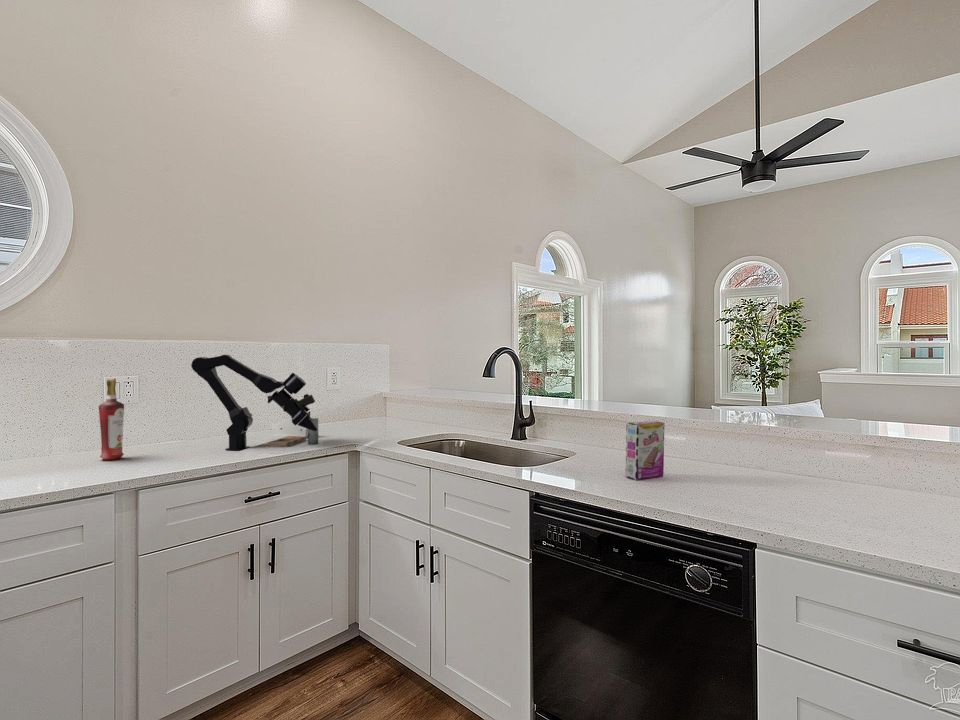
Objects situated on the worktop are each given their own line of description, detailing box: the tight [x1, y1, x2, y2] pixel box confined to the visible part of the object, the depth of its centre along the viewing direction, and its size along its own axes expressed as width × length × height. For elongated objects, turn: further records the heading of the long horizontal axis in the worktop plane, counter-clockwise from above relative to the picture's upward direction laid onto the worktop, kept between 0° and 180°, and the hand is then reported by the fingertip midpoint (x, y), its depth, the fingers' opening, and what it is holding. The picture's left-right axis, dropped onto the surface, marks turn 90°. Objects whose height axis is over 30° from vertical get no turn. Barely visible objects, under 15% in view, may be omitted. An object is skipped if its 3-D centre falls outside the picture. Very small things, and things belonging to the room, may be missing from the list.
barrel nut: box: [307, 417, 319, 445], centre depth 209 cm, size 4×4×10 cm
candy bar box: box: [625, 420, 665, 481], centre depth 156 cm, size 11×5×16 cm, turn 118°
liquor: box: [98, 378, 125, 461], centre depth 184 cm, size 7×7×28 cm
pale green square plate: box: [298, 441, 328, 447], centre depth 209 cm, size 8×8×1 cm
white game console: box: [271, 418, 308, 440], centre depth 226 cm, size 17×5×10 cm, turn 70°
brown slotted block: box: [266, 436, 307, 448], centre depth 210 cm, size 16×8×3 cm, turn 171°
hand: (316, 429), depth 209 cm, fingers closed on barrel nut, 4 cm apart
